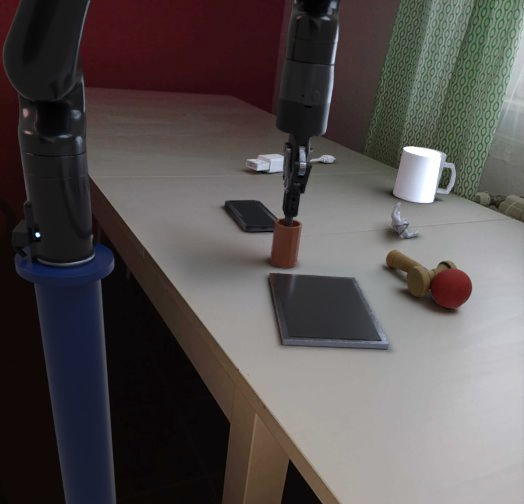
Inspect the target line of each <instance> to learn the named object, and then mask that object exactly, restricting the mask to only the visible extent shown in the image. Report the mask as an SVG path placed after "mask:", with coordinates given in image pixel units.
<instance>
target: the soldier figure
mask: <svg viewBox="0 0 524 504" xmlns="http://www.w3.org/2000/svg"><path fill="white" fill-rule="evenodd" d="M401 204H402V203H401V202H397V203H395V206H394V207H393V209H392V212H391V215H390V217H391V220H392V221H391V223H390V226H391V228H392V229H393V231H394V232H395V233H398V236H399V237H400V236H402V237H404V238H405V239H409V238H413V237H416V236H419V235H420V231H418V230H416V231H415V232H412V233H409V231H408V227H409V226H410V222H408V218H407V217H403V218H401V210H402V208H400V207H401V206H400V205H401Z"/></svg>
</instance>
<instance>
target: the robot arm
mask: <svg viewBox="0 0 524 504" xmlns="http://www.w3.org/2000/svg"><path fill="white" fill-rule="evenodd" d="M91 3H92V0H19V3H18V4H17V5H18V6H17V9H16V11H15V14H14V17H13V20H12V22H11V25H10V28H9V30H8V32H7V35H6V38H5V40H4V43H3V47H2V62H3V68H4V71H5V72H4V73H5V75H6V76H7V78H8V81H9V82H10V84H11V86H12V87H13V89H15V91H16V92H17V96H18V105H19V106H18V107H19V118H18V126H17V136H18V144H19V151H20V159H21V164H22V171H23V178H24V185H25V193H26V200H25V202H24V203H23V212H24V219H21V220H20V221H19V223H18V224H17V225H16V226H15V227H14V228H13V230H12V231H11V235H12V237H11V240H10V241H11V242H10V243H11V247H12V248H13V250H14V252H16V254H17V253H18V254H19V255H20V256H21V257H22V258H24V257H25V256H27V254H26V253H25V252H24V251H23V250H22V249H23V248H25V247H29V248H30V255H31V262H32V263H39V264H41V265H44V266H47V267H52V268H74V267H79V266H83V265H86V264H88V263H90V262H92V261H93V260H94V258H95V250H94V245H95V247H96V248H97V246H96V243H97V239H96V237H95V236H94V229H93V216H92V215H93V213H92V202H91V188H90V177H89V165H88V163H89V161H88V150H87V147H88V146H87V125H88V123H87V122H88V121H87V108H86V107H87V106H86V104H87V103H86V87H85V73H84V63H83V62H84V61H83V58H82V53H81V50H80V49H81V45H82V44H81V42H82V39H83V34H84V30H85V26H86V25H85V24H86V20H87V16H88V12H89V9H90V6H91ZM291 3H292V4H291V13H290V18H289V21H288V22H289V23H288V27H287V33H286V41H285V50H284V60H283V65H282V69H281V74H280V81H279V90H278V98H277V106H276V107H277V109H276V118H275V127H276V129H277V130H278V131H280V132H282V133H285V134H287V135H288V139H287V140H288V141H284V143H283V149H282V151H283V156H284V161H283V172H282V180H283V183H282V184H283V185H282V186H283V188H284V190H283V199H282V207H281V210H282V212H283V215H284V217H285V216H286V217H293V218H297V217H298V216H299V208H300V201H301V195H302V194H303V195H304V194H305V192H306V189H307V185H308V181H309V179H310V175H311V172H312V168H313V165H312V161H311V159H313V154H314V153H313V152H314V148H313V147H311V139H312V138H313V137H321V136H323V135H325V134H326V132H327V127H328V121H329V114H330V108H331V102H332V95H333V89H334V83H335V82H334V80H335V64H336V58H337V57H336V56H337V50H338V44H339V43H338V42H339V37H340V18H339V17H340V9H341V3H342V0H292V2H291ZM310 161H311V162H310ZM294 183H296V184H297V185H294ZM21 247H23V248H21Z"/></svg>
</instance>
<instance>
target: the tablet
mask: <svg viewBox="0 0 524 504" xmlns="http://www.w3.org/2000/svg"><path fill="white" fill-rule="evenodd" d="M268 279H269V284H270V288H271V294H272V298H273V303H274V307H275V313H276V318H277V323H278V328H279V333H280V337H281V342H282V345H284V346H302V347H303V346H307V347H329V348H353V349H354V348H355V349H374V350H376V349H377V350H388V349H389V346H390V343H389V341H388V339H387V337H386V335H385V334H384V331H383V330H382V328H381V326H380V323H379V322H378V320H377V317H376V316H375V314H374V312H373V310H372V308H371V306H370V303H369V302H368V300H367V299H366V296H365V294H364V292H363V290H362V289H361V287H360V285H359V283H358V281H357V279H356V277H350V276H336V275H335V276H333V275H318V274H301V273H299V274H298V273H284V272H283V273H282V272H269V273H268Z"/></svg>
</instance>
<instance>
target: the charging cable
mask: <svg viewBox="0 0 524 504" xmlns="http://www.w3.org/2000/svg"><path fill="white" fill-rule="evenodd" d="M335 160H337V158H335V157H334V156H333V155H330V154H323V155H321V156H319V158H312V159H311V161H310V162H311V163H312V162H321V163H325V164H332V163H334V161H335ZM283 161H284V155H281V154H279V153H273V154H272V153H271V154H259V155H257V157H256V158H251V159H246V160H245V167H247V168H248V169H251V170H255V171H263V172H265V173H268V174H271V173H283Z"/></svg>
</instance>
